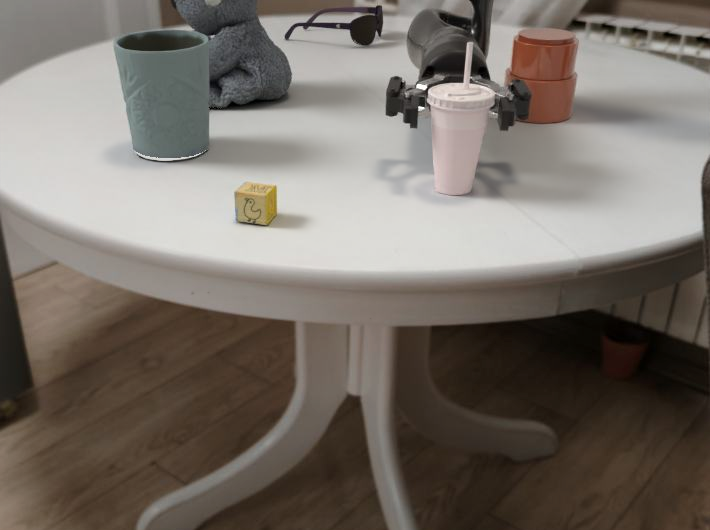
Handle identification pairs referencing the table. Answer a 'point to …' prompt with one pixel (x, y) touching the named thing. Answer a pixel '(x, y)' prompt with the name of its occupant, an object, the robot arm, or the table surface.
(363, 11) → the sunglasses
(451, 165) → the smoothie
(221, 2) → the koala plush
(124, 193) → the table surface
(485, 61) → the robot arm
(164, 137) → the green embossed cup
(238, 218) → the alphabet block
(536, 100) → the upturned cup
